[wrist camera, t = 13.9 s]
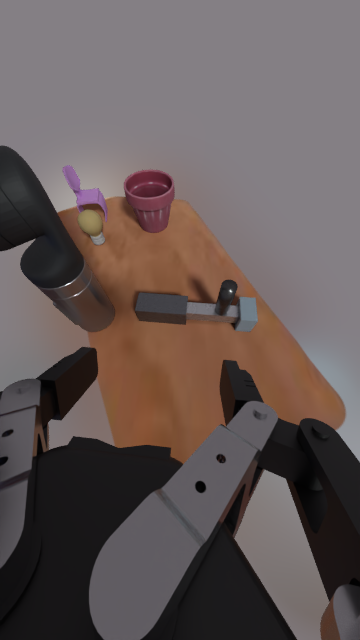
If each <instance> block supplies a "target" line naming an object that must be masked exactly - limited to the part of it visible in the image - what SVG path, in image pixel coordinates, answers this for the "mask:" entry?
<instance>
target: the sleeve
mask: <svg viewBox="0 0 360 640" xmlns="http://www.w3.org/2000/svg"><path fill="white" fill-rule="evenodd" d="M187 302H188V296H179V295H166V294H152V293H139V295H138V299H137V304H136V308H135V312H136V315H137V317H138V319H139V321H147V322H159V323H172V324H184V325H186V311H187Z"/></svg>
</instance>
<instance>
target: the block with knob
mask: <svg viewBox="0 0 360 640" xmlns="http://www.w3.org/2000/svg"><path fill="white" fill-rule="evenodd" d="M237 287H238V286H237V284H236V282H234V281H233V280H225V281H223V282H222V285H221V288H220V292H219V296H218V299H217V303H216V304H207V303H193V302H187V311H186V319H190V320H203V321H215V322H227V323H238V321H239V319H240V311H239V306H233V305H231V303H232V300H233V298H234V295H235V293H236V290H237Z"/></svg>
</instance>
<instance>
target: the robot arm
mask: <svg viewBox="0 0 360 640" xmlns="http://www.w3.org/2000/svg"><path fill="white" fill-rule="evenodd" d="M35 238H36V239H35ZM33 239H35V241H34V242H33V243H32V244H31V245H30V246H29V247H28V248H27V249H26V251H25V252H24V254H23V256H22V258H21V263H20V266H21V270H22V272H23V273H24V275H25V276H26V277H27V278H28V279H29V280H30V281H31V282H32V283H33V284H35V285H36V286H37V287H38V288H39V289H40V290H41V291H42V292H43V293H44V294H45V295H47V296H48V297H49V298H50V299H51V300H52V301H53V305H54V306H55V307H56V308H57V309H59V310H60V311H61V312H62V313H63V314H64V315H65V316H66V317H68V318H69V319H70V320H71V321H72V322H73V323H74V324H76V325H79V326H80V327H81V328H82V329H84V330H86V331H89V332H97V331H100V330H103V329H105V328H106V327H107V326H109V325H110V324H111V322H112V321H113V319H114V316H115V309H114V307H113V305H112V303H111V302H110V300H109V298H108V297H107V295H106V293H105V292H104V290H103V289H102V287H101V285H100V284H99V282H98V280H97V279H96V277H95V275H94V274H93V272H92V271H91V269H90V267H89V266H88V264H87V262H86V261H85V259H84V258H83V256H82V254H81V253H80V251H79V250H78V248H77V247H76V245H75V244H74V242H73V240H72V239H71V237H70V236H69V234H68V232H67V230H66V229H65V227H64V225H63V223H62V221H61V220H60V218H59V216H58V214H57V212H56V210H55V208H54V206H53V205H52V203H51V201H50V199H49V197H48V195H47V193H46V192H45V190H44V188H43V187H42V185H41V183H40V181H39V180H38V178H37V177H36V175H35V174H34V172H33V171H32V169H31V168H30V167H29V165H28V164H27V163H26V161H25V160H24V159H23V158H22V157H21V156H19V154H18V153H17V152H15V151H14V150H13V149H11V148H9V147H7V146H0V251H5V250H8V249H11V248H14V247H16V246H18V245H21V244H23V243H25V242H28V241H30V240H33ZM97 374H98V363H97V351H96V349H95V348H88V347H81V348H80V349H79V350H77V351H76V352H75V353H74V354H71V355H69V356H67V357H64V358H63V359H62V360H60V361H59V362H58V363H56V364H55V365H53V367H51V368H49V369H48V370H47V371H45V372H44V373H43V374H41V375H40V376H39V377H37V378H36V379H25V380H21V381H18V382H15V383H13V384H11V385H9V386H8V387H6V388H5V389H4V391H1V392H0V640H297V639H296V637H295V635H294V634H293V632H292V630H291V629H290V627H289V626H288V624H287V623H286V621H285V619H284V618H283V616H282V614H281V613H280V611H279V610H278V608H277V607H276V605H275V603H274V602H273V600H272V598H271V597H270V595H269V594H268V592H267V590H266V589H265V587H264V586H263V584H262V582H261V581H260V579H259V577H258V576H257V574H256V573H255V571H254V570H253V568H252V566H251V565H250V563H249V561H248V560H247V558H246V557H245V555H244V553H243V552H242V550H241V549H240V547H239V546H238V544H237V542H236V541H235V539H234V538H235V536H236V534H237V531H238V529H239V527H240V524H241V522H242V519H243V516H244V514H245V511H246V508H247V506H248V503H249V501H250V499H251V497H252V495H253V493H254V491H255V489H256V486H257V484H258V482H259V480H260V478H261V476H262V474H263V472H264V469H265V470H268V471H270V472H272V473H274V474H276V475H279V476H281V477H283V478H286V480H287V483H288V486H289V489H290V492H291V495H292V497H293V500H294V503H295V506H296V508H297V511H298V514H299V517H300V520H301V523H302V526H303V528H304V531H305V534H306V537H307V540H308V542H309V546H310V548H311V551H312V554H313V557H314V560H315V563H316V565H317V568H318V571H319V574H320V577H321V580H322V582H323V585H324V588H325V591H326V594H327V597H328V599H329V604H328V606H327V607H326V609H325V611H324V613H323V615H322V617H321V623H320V632H321V640H360V462H359V461H358V460H357V458H356V457H355V455H354V454H353V453H352V452H351V450H350V449H349V448H348V446H347V445H346V443H345V442H344V441H343V439H342V438H341V437H340V435H339V434H338V433H337V432H336V431H335V430H334V429H333V428H332V427H330V426H329V425H327V424H325V423H323V422H321V421H319V420H316V419H311V418H305V419H303V420H301V422H300V424H299V425H296V424H293V423H290V422H287V421H284V420H281V419H279V418H278V416H277V414H276V412H275V411H274V410H273V409H272V408H271V407H270V406H268V405H266V404H264V402H263V400H262V398H261V396H260V394H259V392H258V389H257V387H256V385H255V383H254V381H253V379H252V377H251V375H250V374H249V373H248V372H247V371H246V370H240V369H239V367H238V364H237V362H236V361H231V360H223V364H222V371H221V379H220V395H221V401H222V407H223V412H224V418H225V423H226V427H225V426H224V425H222V424H220V425H219V426H218V427H217V428H216V429H215V430H214V431H213V432H212V433H211V434H210V435H209V437H208V438H207V439H206V440H205V441H204V442H203V443H202V444H201V446H200V447H199V448H198V449H197V450H196V451H195V452H194V453H193V454H192V456H191V457H190V458H189V459H188V460H187V461H186V462H185V463H184V464H182V463H181V462H180V461H178V460H176V459H174V458H172V457H170V454H171V448H168V447H160V446H151V445H142V446H133V447H125V448H117V447H115V446H112V445H110V444H107V443H105V442H103V441H100V440H98V439H92V438H82V437H75V436H73V438H72V439H71V441H70V442H69V444H68V445H65V446H61V447H57V448H53V449H51V450H49V425H48V422H49V421H50V420H51V419H54V420H62V419H63V418H64V416H65V415H66V414H67V413H68V412H69V411H70V409H71V408H72V407H73V406H74V404H75V403H76V402H77V401H78V400H79V399H80V397H81V396H82V395H83V394H84V393H85V391H86V390H87V389H88V388H89V387H90V385H91V384H92V383H93V382H94V381H95V379H96V377H97Z"/></svg>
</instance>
